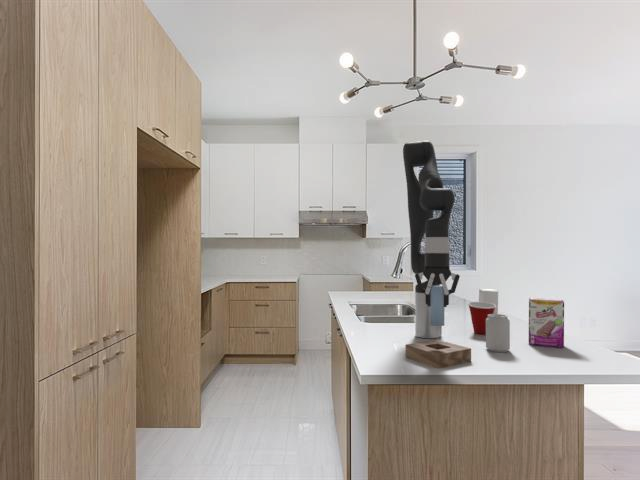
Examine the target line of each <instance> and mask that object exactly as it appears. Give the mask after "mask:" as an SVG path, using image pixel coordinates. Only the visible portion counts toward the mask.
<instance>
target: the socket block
mask: <svg viewBox="0 0 640 480" xmlns="http://www.w3.org/2000/svg"><path fill="white" fill-rule="evenodd" d="M405 358H407V359H409V360H413V361H416V362H418V363H422V364H423V365H427V366H430V367H433V368H436V369H440V368H446V367H451V366H456V365H461V364H465V363H471V362H472V348H471V347H467V346H463V345H459V344H456V343H452V342H448V341H444V340H441V339H431V340H428V341H427V340H426V341H425V340H424V341H421V342H415V343H414V342H413V343H407V344H405Z"/></svg>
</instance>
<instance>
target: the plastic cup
mask: <svg viewBox="0 0 640 480" xmlns="http://www.w3.org/2000/svg"><path fill="white" fill-rule="evenodd" d="M467 305H468V308H469V312H470V317H471V323H472V328H473V333H474V334H477V335H484V336H486V318H487V317H488V315H489V314H493V313H494V309H495V308H496V305H495V304H492V303H487V302H479V301H469V302H468V303H467Z"/></svg>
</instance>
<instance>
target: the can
mask: <svg viewBox="0 0 640 480" xmlns="http://www.w3.org/2000/svg"><path fill="white" fill-rule="evenodd" d="M510 325H511V324H510V319H509V318H508V315H506V314H499V313H498V314H489V315H488V317H487V318H486V335H485V347H486V349H488V351H490V352H492V353H507V352H508V351H509V350H511V349H510V347H511V342H510V339H511V338H510V337H511V335H510V333H511V331H510V329H511V327H510Z"/></svg>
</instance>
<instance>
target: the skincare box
mask: <svg viewBox="0 0 640 480" xmlns="http://www.w3.org/2000/svg"><path fill="white" fill-rule="evenodd" d="M478 302H487V303H492V304H495V305H496V308H495V309H494V313H493V314H499V291H498V290H497V289H494V288H479V289H478Z"/></svg>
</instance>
